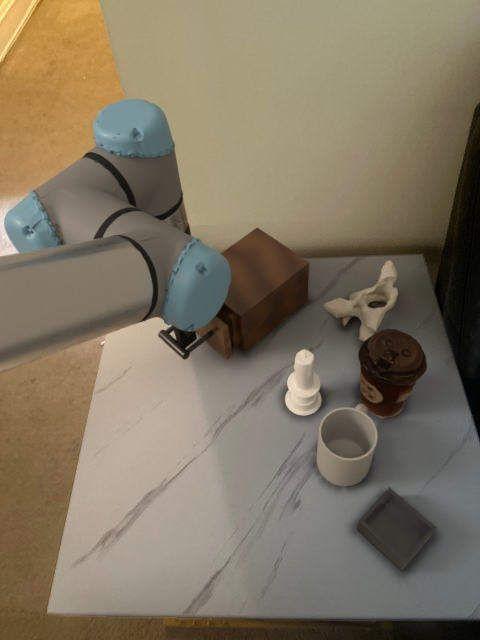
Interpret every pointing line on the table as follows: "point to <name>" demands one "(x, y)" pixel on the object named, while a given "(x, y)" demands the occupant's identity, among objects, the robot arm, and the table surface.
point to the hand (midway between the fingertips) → (187, 341)
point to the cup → (346, 445)
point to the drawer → (210, 335)
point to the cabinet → (264, 285)
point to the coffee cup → (389, 370)
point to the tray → (395, 528)
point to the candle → (303, 386)
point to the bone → (368, 296)
